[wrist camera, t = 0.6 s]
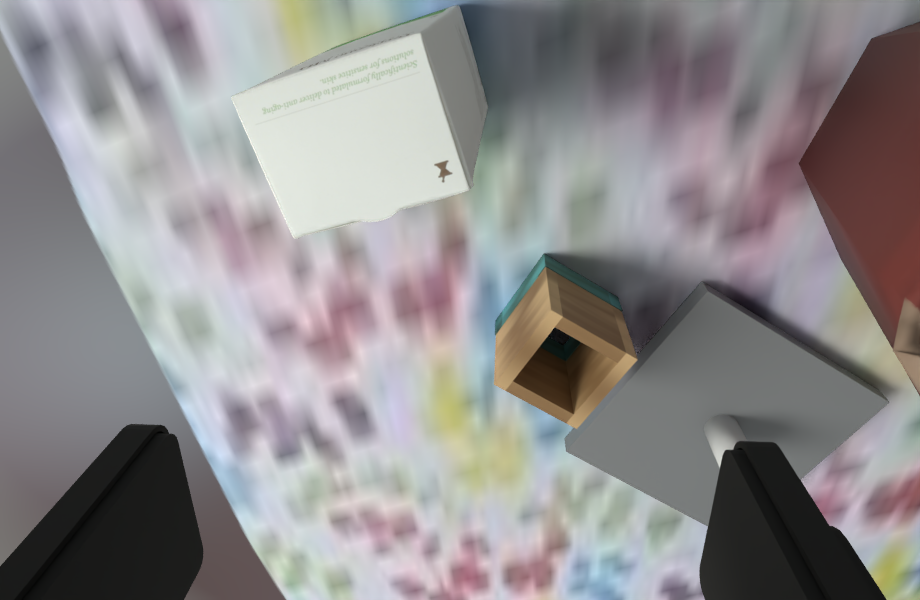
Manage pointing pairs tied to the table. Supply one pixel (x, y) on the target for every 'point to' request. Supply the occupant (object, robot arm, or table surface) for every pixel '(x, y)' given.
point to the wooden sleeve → (551, 364)
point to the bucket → (877, 185)
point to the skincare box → (370, 125)
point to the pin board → (718, 404)
